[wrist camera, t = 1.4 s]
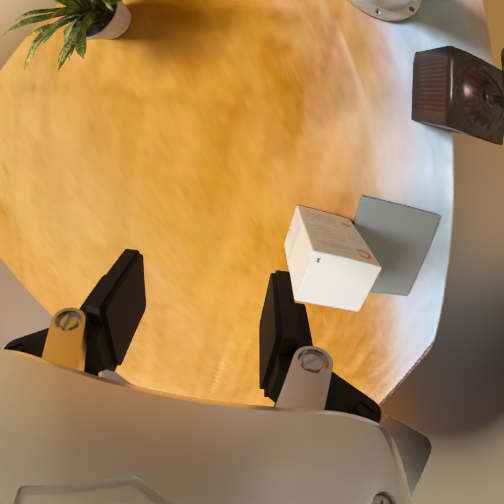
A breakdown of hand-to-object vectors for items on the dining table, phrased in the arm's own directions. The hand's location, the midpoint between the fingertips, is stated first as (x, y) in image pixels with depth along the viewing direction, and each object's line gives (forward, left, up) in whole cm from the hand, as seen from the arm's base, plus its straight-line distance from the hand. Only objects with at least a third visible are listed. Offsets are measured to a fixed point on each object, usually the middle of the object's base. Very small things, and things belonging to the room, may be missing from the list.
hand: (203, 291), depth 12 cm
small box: (+8, +12, -28) cm, 31 cm away
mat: (+9, +24, -27) cm, 38 cm away
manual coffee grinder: (-19, +26, -28) cm, 43 cm away
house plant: (-19, -21, -28) cm, 40 cm away
